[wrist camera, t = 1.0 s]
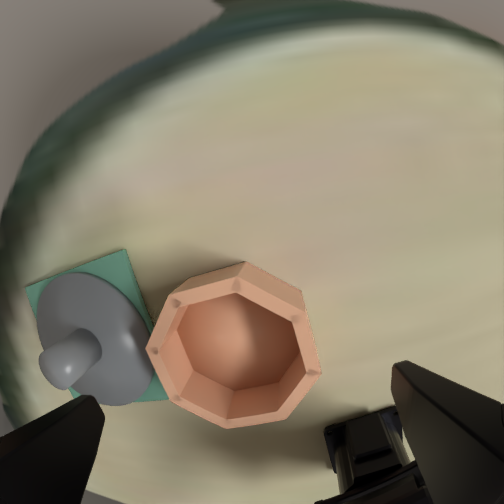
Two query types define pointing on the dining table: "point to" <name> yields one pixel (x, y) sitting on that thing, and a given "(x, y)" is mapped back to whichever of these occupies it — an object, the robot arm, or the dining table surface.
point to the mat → (123, 278)
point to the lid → (93, 339)
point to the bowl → (235, 347)
